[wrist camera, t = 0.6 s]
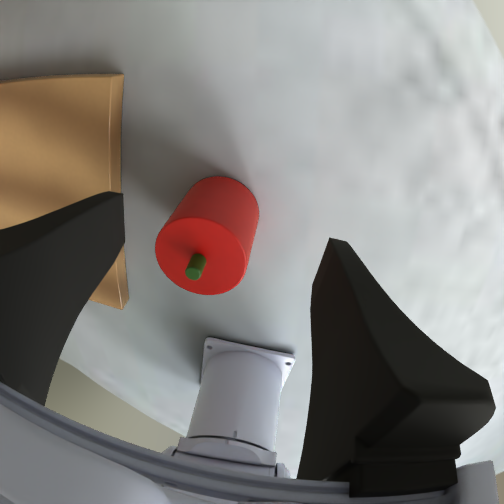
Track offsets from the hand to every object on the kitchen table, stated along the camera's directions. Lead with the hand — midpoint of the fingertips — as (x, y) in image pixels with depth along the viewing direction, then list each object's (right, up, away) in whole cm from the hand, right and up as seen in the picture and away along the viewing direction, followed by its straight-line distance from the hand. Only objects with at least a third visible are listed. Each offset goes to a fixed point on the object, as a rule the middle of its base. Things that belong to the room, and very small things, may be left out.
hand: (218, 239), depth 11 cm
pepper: (-1, +2, +9) cm, 10 cm away
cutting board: (-15, +4, +10) cm, 18 cm away
